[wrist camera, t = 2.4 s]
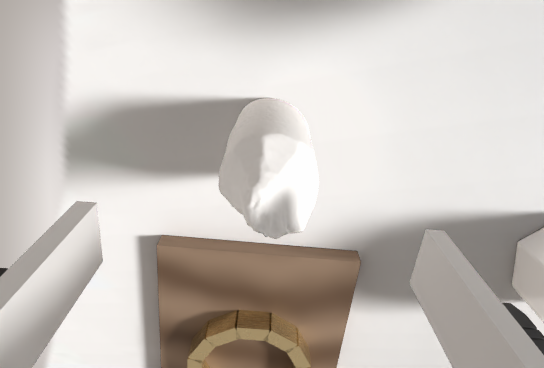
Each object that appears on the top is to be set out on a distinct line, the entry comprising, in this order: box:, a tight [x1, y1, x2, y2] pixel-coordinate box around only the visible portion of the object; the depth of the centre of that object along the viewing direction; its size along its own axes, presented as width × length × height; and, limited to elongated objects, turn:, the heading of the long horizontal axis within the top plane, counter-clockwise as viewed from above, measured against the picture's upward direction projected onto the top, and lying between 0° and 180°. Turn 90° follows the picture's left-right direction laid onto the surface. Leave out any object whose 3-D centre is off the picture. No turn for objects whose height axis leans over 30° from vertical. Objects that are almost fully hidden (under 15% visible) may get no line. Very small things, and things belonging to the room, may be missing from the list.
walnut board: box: [157, 235, 361, 368], centre depth 35 cm, size 20×16×2 cm
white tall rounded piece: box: [219, 98, 319, 239], centre depth 22 cm, size 6×12×6 cm
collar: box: [187, 310, 311, 368], centre depth 34 cm, size 10×10×2 cm
